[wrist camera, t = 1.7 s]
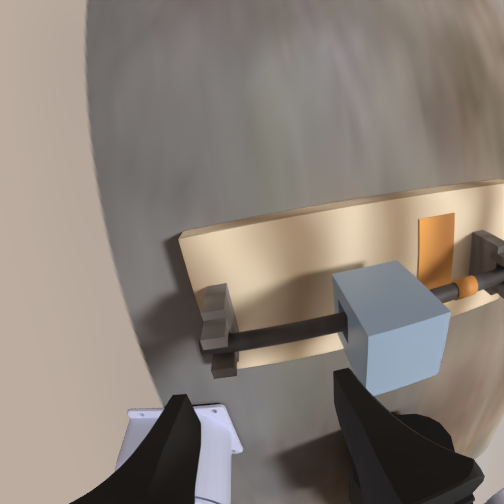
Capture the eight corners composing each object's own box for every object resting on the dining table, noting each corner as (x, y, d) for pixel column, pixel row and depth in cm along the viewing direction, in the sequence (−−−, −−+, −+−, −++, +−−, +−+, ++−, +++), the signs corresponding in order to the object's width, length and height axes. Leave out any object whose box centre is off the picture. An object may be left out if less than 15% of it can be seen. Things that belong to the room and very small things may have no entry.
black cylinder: (353, 492, 42) (337, 536, 34) (364, 410, 27) (337, 499, 19) (403, 496, 37) (390, 541, 29) (457, 414, 22) (447, 505, 14)
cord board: (221, 357, 22) (215, 425, 16) (183, 231, 19) (155, 277, 12) (489, 290, 21) (533, 327, 15) (499, 179, 18) (557, 198, 11)
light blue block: (335, 329, 18) (364, 398, 12) (331, 274, 16) (368, 336, 11) (394, 314, 18) (437, 373, 12) (396, 260, 16) (450, 311, 11)
